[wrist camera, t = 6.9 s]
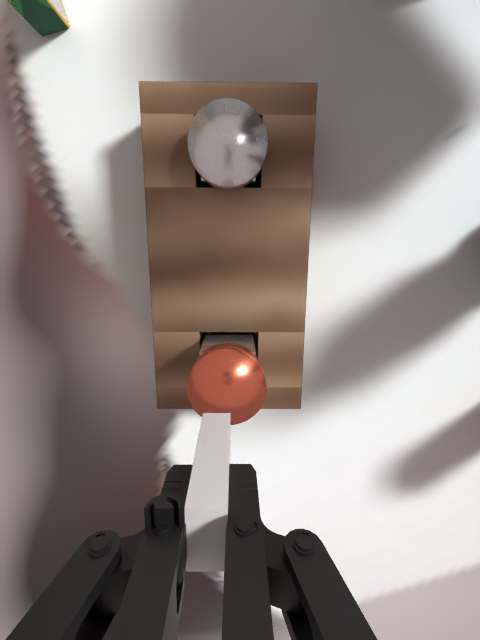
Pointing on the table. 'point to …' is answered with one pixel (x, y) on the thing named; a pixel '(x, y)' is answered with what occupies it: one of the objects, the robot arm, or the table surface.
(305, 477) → the table surface
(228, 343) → the red plunger
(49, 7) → the crayon box
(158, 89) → the block
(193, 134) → the grey plunger
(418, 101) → the table surface
